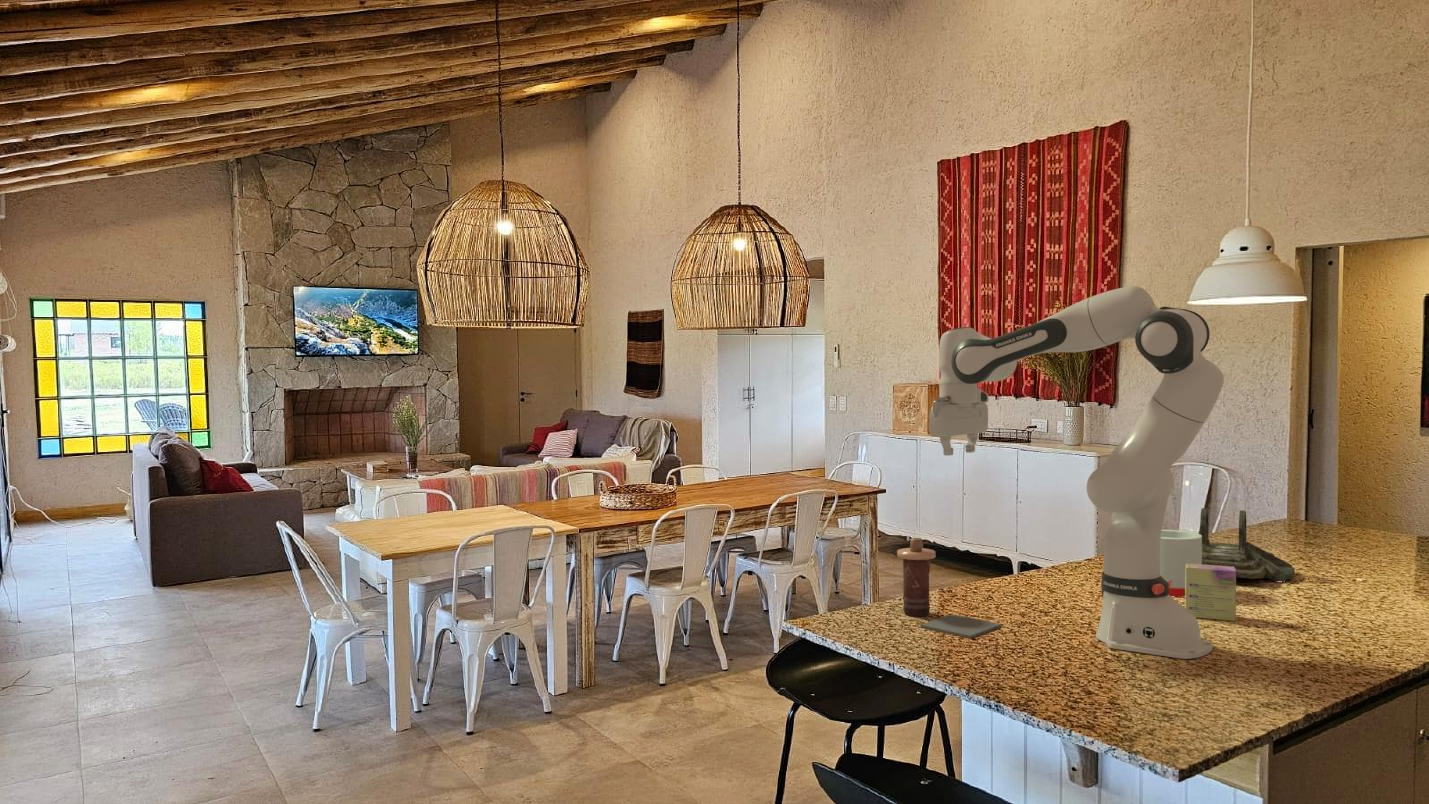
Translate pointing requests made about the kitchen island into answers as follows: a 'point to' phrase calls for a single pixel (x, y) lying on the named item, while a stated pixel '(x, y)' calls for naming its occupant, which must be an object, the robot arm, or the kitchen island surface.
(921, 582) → the can
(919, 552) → the lid
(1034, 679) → the kitchen island surface
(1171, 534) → the container
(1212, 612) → the box
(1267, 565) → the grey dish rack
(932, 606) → the kitchen island surface
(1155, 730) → the kitchen island surface
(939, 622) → the mat
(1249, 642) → the kitchen island surface
